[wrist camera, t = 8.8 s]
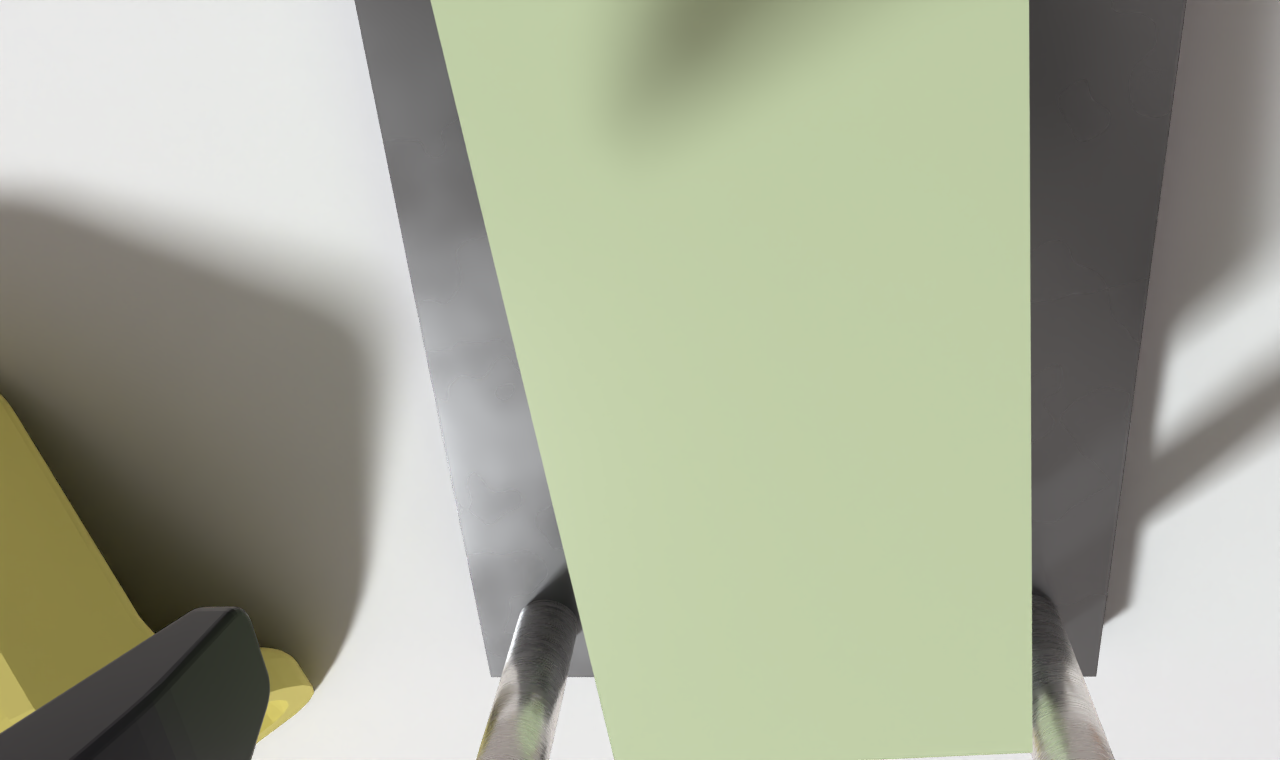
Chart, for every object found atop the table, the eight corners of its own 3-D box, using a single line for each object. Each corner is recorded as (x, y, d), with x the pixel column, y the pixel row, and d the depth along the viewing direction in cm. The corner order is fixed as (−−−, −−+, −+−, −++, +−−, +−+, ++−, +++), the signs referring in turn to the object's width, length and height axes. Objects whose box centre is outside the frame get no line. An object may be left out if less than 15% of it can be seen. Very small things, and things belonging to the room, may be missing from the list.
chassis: (1220, -475, 13) (1482, -643, 9) (1082, 641, 22) (1176, 879, 17) (308, -356, 15) (92, -443, 10) (501, 644, 23) (433, 863, 18)
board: (963, -195, 13) (1027, -200, 10) (985, 595, 18) (1032, 752, 15) (486, -108, 14) (409, -87, 11) (640, 618, 19) (617, 771, 16)
